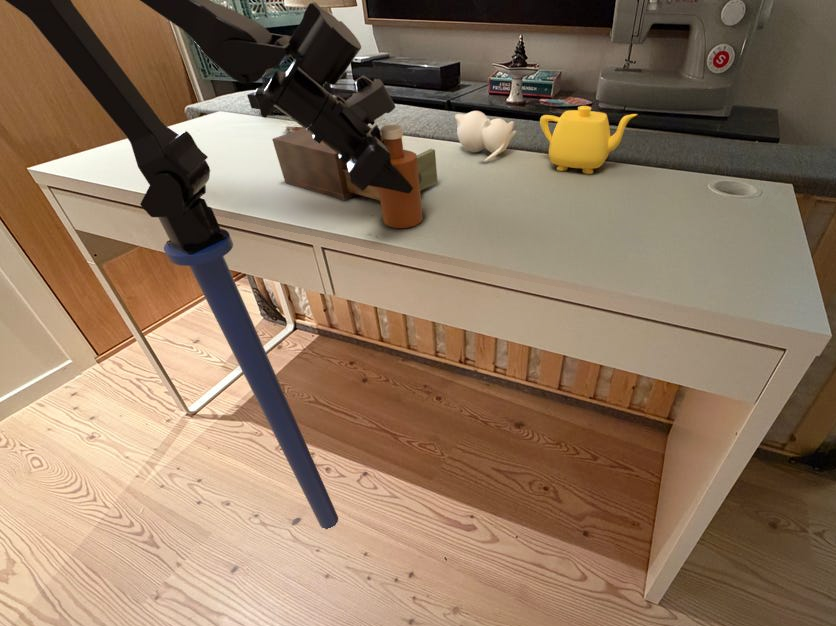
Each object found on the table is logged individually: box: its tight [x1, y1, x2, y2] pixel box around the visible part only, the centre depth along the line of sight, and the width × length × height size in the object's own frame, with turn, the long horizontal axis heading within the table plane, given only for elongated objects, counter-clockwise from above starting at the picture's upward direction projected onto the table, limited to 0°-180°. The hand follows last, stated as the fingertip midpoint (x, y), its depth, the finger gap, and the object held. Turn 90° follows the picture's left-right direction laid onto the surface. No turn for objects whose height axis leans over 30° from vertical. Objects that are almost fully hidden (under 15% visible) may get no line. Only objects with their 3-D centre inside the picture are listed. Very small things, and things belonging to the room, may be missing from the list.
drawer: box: [340, 148, 438, 201], centre depth 82 cm, size 18×14×6 cm
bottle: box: [378, 124, 424, 229], centre depth 71 cm, size 6×6×14 cm
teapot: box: [539, 105, 638, 175], centre depth 89 cm, size 18×11×11 cm, turn 71°
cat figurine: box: [454, 110, 517, 164], centre depth 96 cm, size 9×11×12 cm
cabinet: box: [271, 127, 385, 201], centre depth 86 cm, size 16×14×8 cm
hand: (407, 182), depth 72 cm, fingers closed on bottle, 6 cm apart
